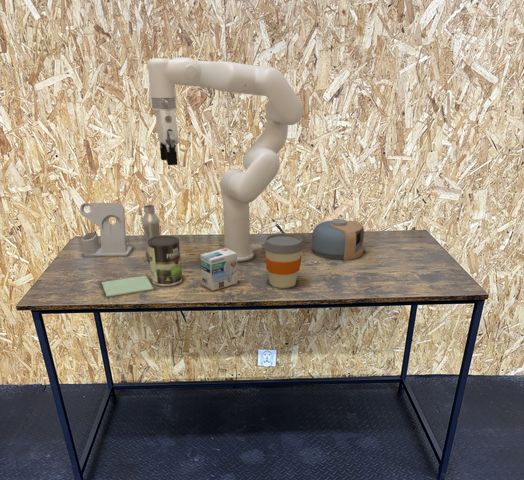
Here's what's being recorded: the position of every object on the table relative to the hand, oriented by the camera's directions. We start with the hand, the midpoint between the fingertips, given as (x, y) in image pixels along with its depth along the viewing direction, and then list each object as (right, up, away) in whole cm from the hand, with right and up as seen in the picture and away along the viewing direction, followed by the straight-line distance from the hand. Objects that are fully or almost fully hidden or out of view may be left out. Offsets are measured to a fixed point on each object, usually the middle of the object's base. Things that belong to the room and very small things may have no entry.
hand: (169, 162), depth 162 cm
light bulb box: (+16, -40, +4) cm, 43 cm away
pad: (-14, -41, +2) cm, 43 cm away
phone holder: (-30, -23, +31) cm, 49 cm away
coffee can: (-2, -38, +7) cm, 39 cm away
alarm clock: (+60, -23, +32) cm, 72 cm away
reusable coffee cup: (+38, -39, +5) cm, 54 cm away
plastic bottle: (-10, -28, +24) cm, 38 cm away
